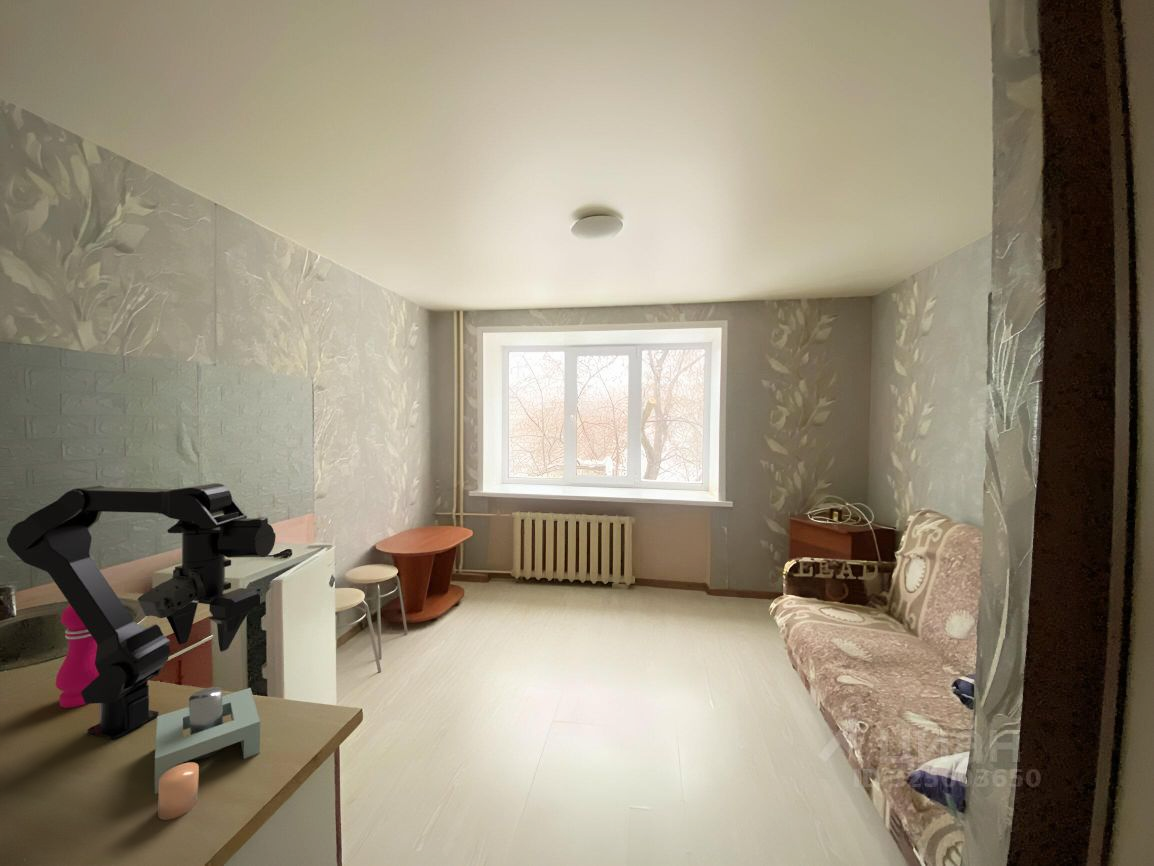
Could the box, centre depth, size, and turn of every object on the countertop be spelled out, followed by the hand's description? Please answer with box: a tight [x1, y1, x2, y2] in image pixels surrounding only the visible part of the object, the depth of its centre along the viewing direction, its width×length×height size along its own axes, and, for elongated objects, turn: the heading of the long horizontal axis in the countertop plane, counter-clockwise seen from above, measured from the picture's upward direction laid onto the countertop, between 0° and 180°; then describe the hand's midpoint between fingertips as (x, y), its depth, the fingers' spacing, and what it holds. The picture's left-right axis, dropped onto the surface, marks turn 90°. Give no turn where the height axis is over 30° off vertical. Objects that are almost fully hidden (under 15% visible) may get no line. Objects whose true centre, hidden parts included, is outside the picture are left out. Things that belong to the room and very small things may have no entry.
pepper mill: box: [55, 604, 99, 709], centre depth 83 cm, size 7×7×20 cm
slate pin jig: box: [154, 687, 261, 795], centre depth 70 cm, size 12×12×5 cm
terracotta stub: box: [157, 761, 200, 821], centre depth 60 cm, size 4×4×4 cm
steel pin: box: [188, 686, 224, 761], centre depth 70 cm, size 4×4×9 cm
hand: (203, 647), depth 77 cm, fingers open, 9 cm apart
